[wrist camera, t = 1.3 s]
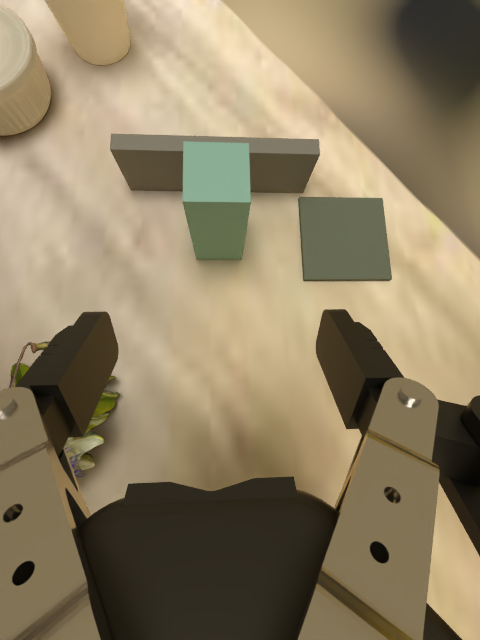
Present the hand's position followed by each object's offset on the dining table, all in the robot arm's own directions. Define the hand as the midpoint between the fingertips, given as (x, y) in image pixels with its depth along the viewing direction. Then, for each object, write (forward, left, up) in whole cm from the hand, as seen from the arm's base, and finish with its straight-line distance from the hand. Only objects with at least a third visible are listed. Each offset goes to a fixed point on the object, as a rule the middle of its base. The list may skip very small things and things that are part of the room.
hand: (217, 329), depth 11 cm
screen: (-17, +9, -16) cm, 25 cm away
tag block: (-11, +5, -16) cm, 20 cm away
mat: (-5, +17, -16) cm, 24 cm away
